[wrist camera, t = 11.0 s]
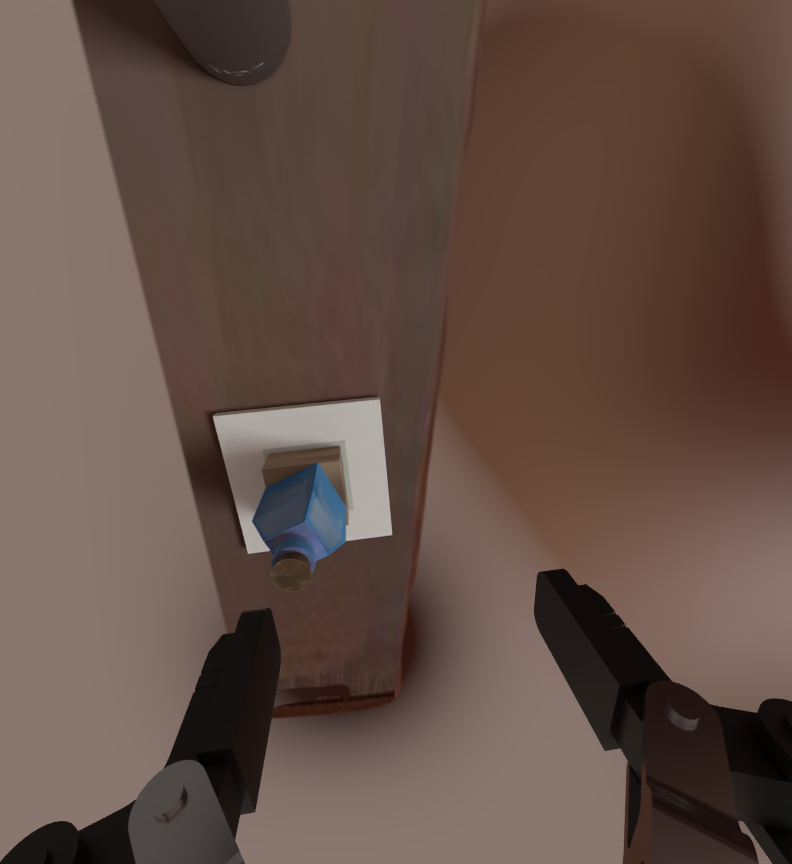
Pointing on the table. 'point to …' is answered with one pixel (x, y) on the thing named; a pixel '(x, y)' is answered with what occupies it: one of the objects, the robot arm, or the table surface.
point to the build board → (301, 430)
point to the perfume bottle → (300, 525)
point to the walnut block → (296, 461)
